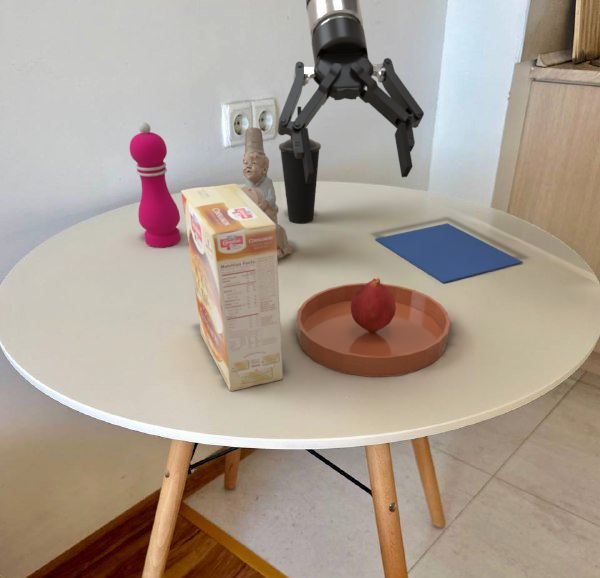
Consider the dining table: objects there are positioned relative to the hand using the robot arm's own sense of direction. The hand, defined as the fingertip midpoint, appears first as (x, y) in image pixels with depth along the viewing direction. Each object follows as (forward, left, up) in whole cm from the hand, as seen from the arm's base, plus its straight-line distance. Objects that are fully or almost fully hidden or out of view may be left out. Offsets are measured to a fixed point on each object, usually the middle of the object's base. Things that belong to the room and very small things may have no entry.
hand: (359, 175), depth 80 cm
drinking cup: (+31, -6, -17) cm, 36 cm away
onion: (-13, +5, -17) cm, 22 cm away
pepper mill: (+33, +21, -17) cm, 43 cm away
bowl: (-13, +5, -17) cm, 22 cm away
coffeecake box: (-9, +23, -17) cm, 30 cm away
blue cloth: (+5, -21, -17) cm, 28 cm away
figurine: (+18, +7, -17) cm, 26 cm away
